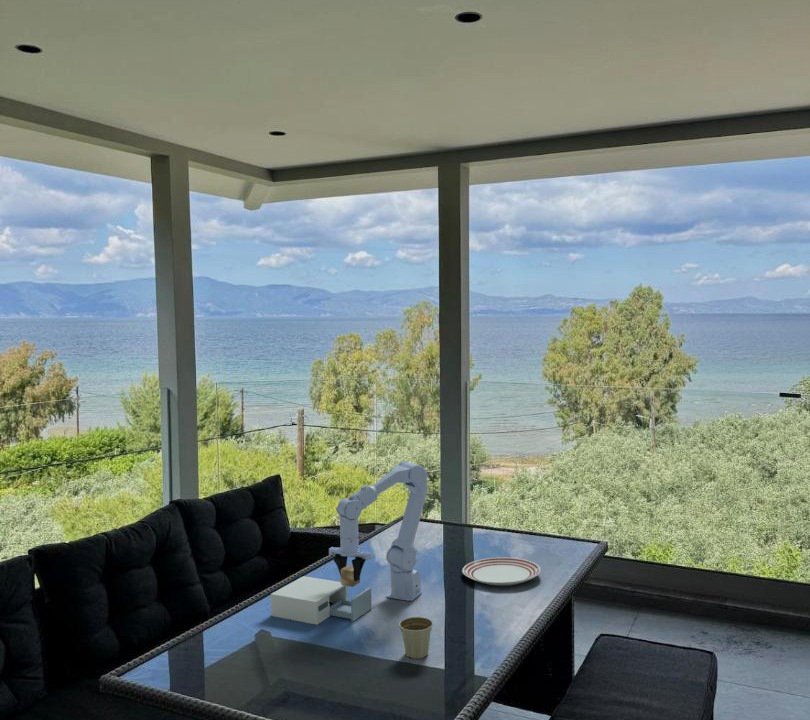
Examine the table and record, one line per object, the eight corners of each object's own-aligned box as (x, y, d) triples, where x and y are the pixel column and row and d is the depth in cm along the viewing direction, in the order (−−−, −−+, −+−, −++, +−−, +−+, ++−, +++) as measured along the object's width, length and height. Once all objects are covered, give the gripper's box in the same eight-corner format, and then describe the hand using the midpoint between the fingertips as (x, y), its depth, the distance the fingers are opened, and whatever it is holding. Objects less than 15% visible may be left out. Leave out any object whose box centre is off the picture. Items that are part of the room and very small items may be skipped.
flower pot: (409, 664, 205) (408, 633, 205) (393, 651, 214) (392, 621, 213) (440, 656, 210) (439, 625, 209) (423, 644, 218) (422, 614, 217)
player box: (348, 604, 249) (347, 583, 249) (317, 624, 233) (317, 602, 233) (304, 596, 257) (303, 576, 257) (271, 615, 241) (270, 594, 241)
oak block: (360, 582, 247) (359, 567, 246) (352, 586, 243) (352, 571, 242) (348, 580, 249) (348, 565, 248) (341, 584, 245) (340, 569, 244)
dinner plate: (452, 586, 265) (451, 576, 264) (475, 561, 290) (475, 553, 290) (531, 595, 254) (531, 585, 254) (547, 569, 280) (547, 560, 279)
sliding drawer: (371, 608, 245) (370, 588, 245) (353, 620, 235) (353, 599, 235) (343, 603, 250) (342, 583, 249) (324, 615, 240) (324, 594, 240)
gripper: (323, 537, 244) (324, 579, 245) (362, 542, 238) (363, 586, 239) (335, 531, 251) (336, 573, 251) (373, 537, 244) (374, 579, 245)
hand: (350, 579), depth 245 cm, fingers closed on oak block, 4 cm apart
